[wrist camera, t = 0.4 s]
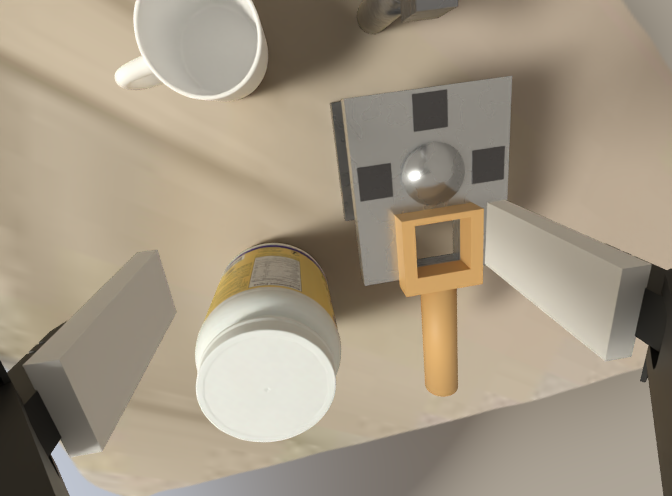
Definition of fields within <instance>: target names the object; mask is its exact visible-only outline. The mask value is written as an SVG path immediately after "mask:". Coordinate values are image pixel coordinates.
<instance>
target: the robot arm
mask: <svg viewBox="0 0 672 496" xmlns="http://www.w3.org/2000/svg"><path fill="white" fill-rule="evenodd" d="M485 265H487V266H488V267H489V268H490V269H491V270H493V271H494V272H495V273H496V274H498V275H499V276H500V277H501V278H503V279H504V280H505V281H506V282H508V283H509V284H510V285H511V286H512V287H514V288H515V289H516V290H517V291H519V292H520V293H521V294H522V295H524V296H525V297H526V298H527V299H529V300H530V301H531V302H532V303H534V304H535V305H536V306H537V307H538V308H540V309H541V310H542V311H543V312H545V313H546V314H547V315H548V316H550V317H551V318H552V319H553V320H555V321H556V322H557V323H558V324H559V325H561V326H562V327H563V328H564V329H566V330H567V331H568V332H569V333H571V334H572V335H573V336H574V337H576V338H577V339H578V340H579V341H581V342H582V343H583V344H584V345H585V346H587V347H588V348H589V349H590V350H592V351H593V352H594V353H595V354H597V355H598V356H599V357H600V358H602V359H603V360H604V361H610V360H616V359H621V358H627V357H632V352H633V348H634V343H635V339H636V337H637V338H639V339H640V340H642V341H643V342H645V343H646V344H648V345H649V346H648V350H647V354H646V359H645V363H644V367H643V371H642V376H641V380H640V381H642V382H646V380H647V378H648V380H649V388H650V395H651V403H652V411H653V418H654V426H655V433H656V441H657V449H658V457H659V464H660V471H661V480H662V487H663V495H664V496H672V269H669V270H665V269H663V268H661V267H658V266H656V265H654V264H651V263H649V262H647V261H645V260H642V259H640V258H638V257H635V256H632V255H631V254H629V253H626V252H624V251H621V250H619V249H617V248H615V247H612V246H610V245H608V244H605V243H602V242H600V241H598V240H595V239H593V238H591V237H589V236H586V235H584V234H582V233H579V232H577V231H575V230H573V229H570V228H568V227H566V226H564V225H561V224H559V223H557V222H554V221H552V220H550V219H548V218H545V217H543V216H541V215H538V214H536V213H534V212H532V211H529V210H527V209H525V208H522V207H520V206H518V205H516V204H513V203H511V202H509V201H507V200H501V201H494V202H487V223H486V247H485ZM175 314H176V308H175V305H174V302H173V299H172V295H171V292H170V289H169V286H168V282H167V279H166V276H165V273H164V269H163V266H162V263H161V260H160V256H159V253H158V250H152V251H145V252H138V253H136V254H135V255H134V256H133V257H132V258H131V259H130V260H129V261H128V262H127V263H126V264H125V265H124V266H123V267H122V268H121V269H120V270H119V271H118V272H117V273H116V274H115V275H114V276H113V277H112V278H111V279H110V280H109V281H108V282H107V283H106V284H104V285H103V286H102V287H101V288H100V289H99V290H98V291H97V292H96V293H95V294H94V295H93V296H92V297H91V298H90V299H89V300H88V301H87V302H86V303H85V304H84V305H83V306H82V307H81V308H80V309H79V310H78V311H77V312H76V313H75V314H74V315H73V316H72V317H71V318H70V319H69V320H68V321H66V322H64V323H63V324H61V325H60V326H58V327H56V328H55V329H53V330H52V331H50V332H49V333H48V334H47V335H46V336H45V337H44V338H43V339H42V340H41V341H40V342H39V344H38V345H36V346H35V347H34V348H32V349H31V350H30V351H29V354H26V355H25V356H24V357H23V358H22V359H21V360H20V361H19V362H18V363H17V364H16V365H15V366H14V367H13V368H12V369H11V370H10V371H8V372H6V370H5V368H4V367H3V365H2V363H1V361H0V496H69V493H68V491H67V489H66V487H65V484H64V482H63V479H62V477H61V475H60V472H59V470H58V468H57V465H56V463H55V461H54V459H53V458H52V456H51V452H52V451H53V449H54V448H55V446H56V445H57V444H58V442H59V441H60V439H61V441H62V443H63V445H64V447H65V449H66V451H67V453H68V455H69V457H74V456H80V455H86V454H91V453H97V452H102V451H103V449H104V447H105V446H106V444H107V442H108V440H109V438H110V436H111V434H112V432H113V431H114V429H115V427H116V425H117V423H118V421H119V419H120V417H121V416H122V414H123V412H124V410H125V408H126V406H127V404H128V402H129V401H130V399H131V397H132V395H133V393H134V391H135V389H136V387H137V385H138V384H139V382H140V380H141V378H142V376H143V374H144V372H145V370H146V369H147V367H148V365H149V363H150V361H151V359H152V357H153V355H154V354H155V352H156V350H157V348H158V346H159V344H160V342H161V340H162V339H163V337H164V335H165V333H166V331H167V329H168V327H169V325H170V323H171V322H172V320H173V318H174V316H175Z"/></svg>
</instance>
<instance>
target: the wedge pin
mask: <svg viewBox="0 0 672 496" xmlns="http://www.w3.org/2000/svg"><path fill="white" fill-rule="evenodd" d="M456 7H458V0H363V1H362V2H361V4H360V6H359V8H358V11H357V21H358V24H359V26H360V27H361V29H362V30H363V31H364V32H366V33H368V34H377V33H379V32H381V31H382V30H383V29H384V28H386V27H387V26H388V25H389V24H391V23H392V22H393V21H394V20H396V19H397V18H398V17H399V16H401V23H403V22H410V21H418V20H426V19H434V18H439V17H441V16H442V15H444V14H446V13H447V12H449V11H451V10H453V9H454V8H456Z"/></svg>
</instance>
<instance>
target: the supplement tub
mask: <svg viewBox="0 0 672 496" xmlns="http://www.w3.org/2000/svg"><path fill="white" fill-rule="evenodd" d="M340 359H341V341H340V336H339V333H338V329H337V325H336V320H335V316H334V311H333V306H332V302H331V298H330V293H329V288H328V283H327V279H326V276H325V274H324V272H323V270H322V268H321V267H320V266H319V264H318V263H317V262H316V261H315V259H314V258H312V257H311V256H310V255H309V254H308V253H306V252H305V251H303V250H301V249H299V248H297V247H294V246H291V245H287V244H282V243H266V244H260V245H257V246H253V247H251V248H249V249H246V250H245V251H243V252H241V253H240V254H239V255H237V256H236V257H235V258H234V259H233V260H232V261H231V262H230V263H229V265H228V266H227V267H226V269H225V271H224V273H223V275H222V277H221V280H220V283H219V285H218V288H217V290H216V293H215V295H214V298H213V300H212V303H211V305H210V308H209V310H208V313H207V315H206V318H205V320H204V323H203V325H202V327H201V329H200V332H199V334H198V338H197V342H196V350H195V360H196V367H197V371H198V376H197V381H196V394H197V399H198V403H199V405H200V408H201V410H202V411H203V413H204V414H205V416H206V417H207V418H208V420H209V421H210V422H211V423H212V424H213V425H215V426H216V427H217V428H218V429H220V430H221V431H223V432H225V433H227V434H229V435H231V436H233V437H236V438H239V439H242V440H247V441H254V442H273V441H280V440H284V439H288V438H291V437H294V436H296V435H299V434H301V433H303V432H304V431H306V430H308V429H309V428H311V427H312V426H314V425H315V424H316V423H317V422H318V421H319V420H320V419H321V418H322V417H323V416H324V415H325V414H326V412H327V411H328V409H329V407H330V406H331V404H332V401H333V399H334V395H335V391H336V374H337V372H338V369H339V365H340Z"/></svg>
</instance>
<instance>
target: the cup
mask: <svg viewBox="0 0 672 496" xmlns="http://www.w3.org/2000/svg"><path fill="white" fill-rule="evenodd" d="M134 32H135V37H136V41H137V44H138V47H139V50H140V52H141V54H142V56H140V57H137V58H135V59H133V60H131V61H129V62H127V63H126V64H124V65H122V66H121V67H120V68H119V69H118V70H117V71H116V73H115V80H116V83H117V84H118V85H119V86H120V87H122V88H124V89H128V90H142V89H147V88H151V87H155V86H158V85H161V84H165V85H166V86H168V87H169V88H171V89H172V90H174V91H176V92H178V93H180V94H182V95H184V96H187V97H190V98H194V99H200V100H211V101H225V102H226V101H235V100H239V99H241V98H244V97H246V96H248V95H249V94H251V93H252V92H253V91H254V90H255V89H256V88H257V87H258V86H259V84H260V83H261V81H262V80H263V78H264V75H265V73H266V69H267V64H268V47H267V42H266V38H265V35H264V31H263V28H262V25H261V22H260V19H259V16H258V13H257V10H256V8H255V6H254V4H253V1H252V0H136V3H135V8H134Z"/></svg>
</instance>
